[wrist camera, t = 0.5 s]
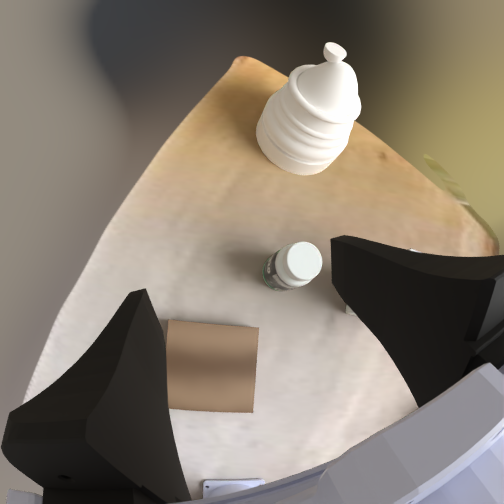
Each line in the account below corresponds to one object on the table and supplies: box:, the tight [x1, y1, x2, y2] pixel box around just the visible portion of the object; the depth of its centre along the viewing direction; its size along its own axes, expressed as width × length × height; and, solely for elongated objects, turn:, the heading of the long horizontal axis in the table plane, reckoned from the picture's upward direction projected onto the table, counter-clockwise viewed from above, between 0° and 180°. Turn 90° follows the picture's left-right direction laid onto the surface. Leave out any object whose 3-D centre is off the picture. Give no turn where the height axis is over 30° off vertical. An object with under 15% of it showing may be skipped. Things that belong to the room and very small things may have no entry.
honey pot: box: [256, 42, 361, 175], centre depth 36 cm, size 13×13×18 cm
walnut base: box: [166, 319, 259, 413], centre depth 33 cm, size 10×10×3 cm
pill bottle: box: [262, 242, 322, 291], centre depth 35 cm, size 5×5×8 cm
